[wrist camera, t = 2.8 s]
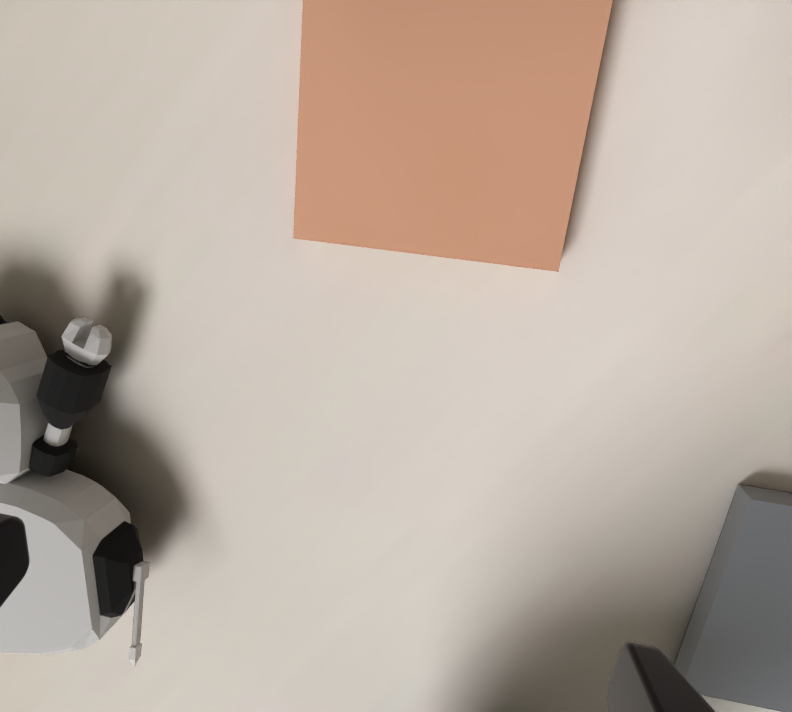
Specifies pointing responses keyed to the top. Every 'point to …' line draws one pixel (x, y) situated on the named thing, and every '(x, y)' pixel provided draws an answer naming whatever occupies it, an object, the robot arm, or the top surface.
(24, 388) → the robot toy
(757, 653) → the slate tile
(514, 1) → the terracotta tile
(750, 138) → the top surface
